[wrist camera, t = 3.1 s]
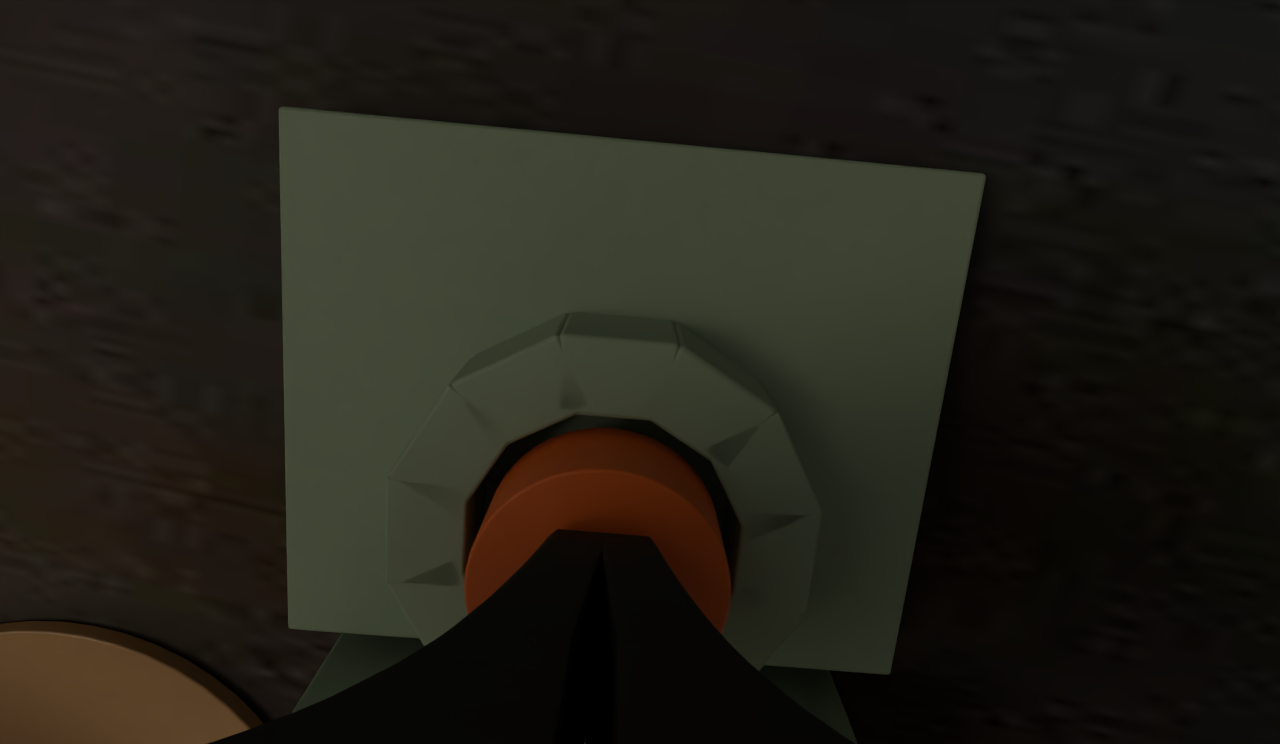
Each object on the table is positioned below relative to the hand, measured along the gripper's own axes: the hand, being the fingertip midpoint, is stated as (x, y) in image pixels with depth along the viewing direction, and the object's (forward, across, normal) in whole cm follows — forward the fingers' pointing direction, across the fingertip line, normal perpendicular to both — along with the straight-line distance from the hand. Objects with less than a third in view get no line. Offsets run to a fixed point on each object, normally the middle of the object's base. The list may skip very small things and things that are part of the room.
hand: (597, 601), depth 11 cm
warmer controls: (+5, 0, -2) cm, 5 cm away
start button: (+2, 0, 0) cm, 2 cm away
